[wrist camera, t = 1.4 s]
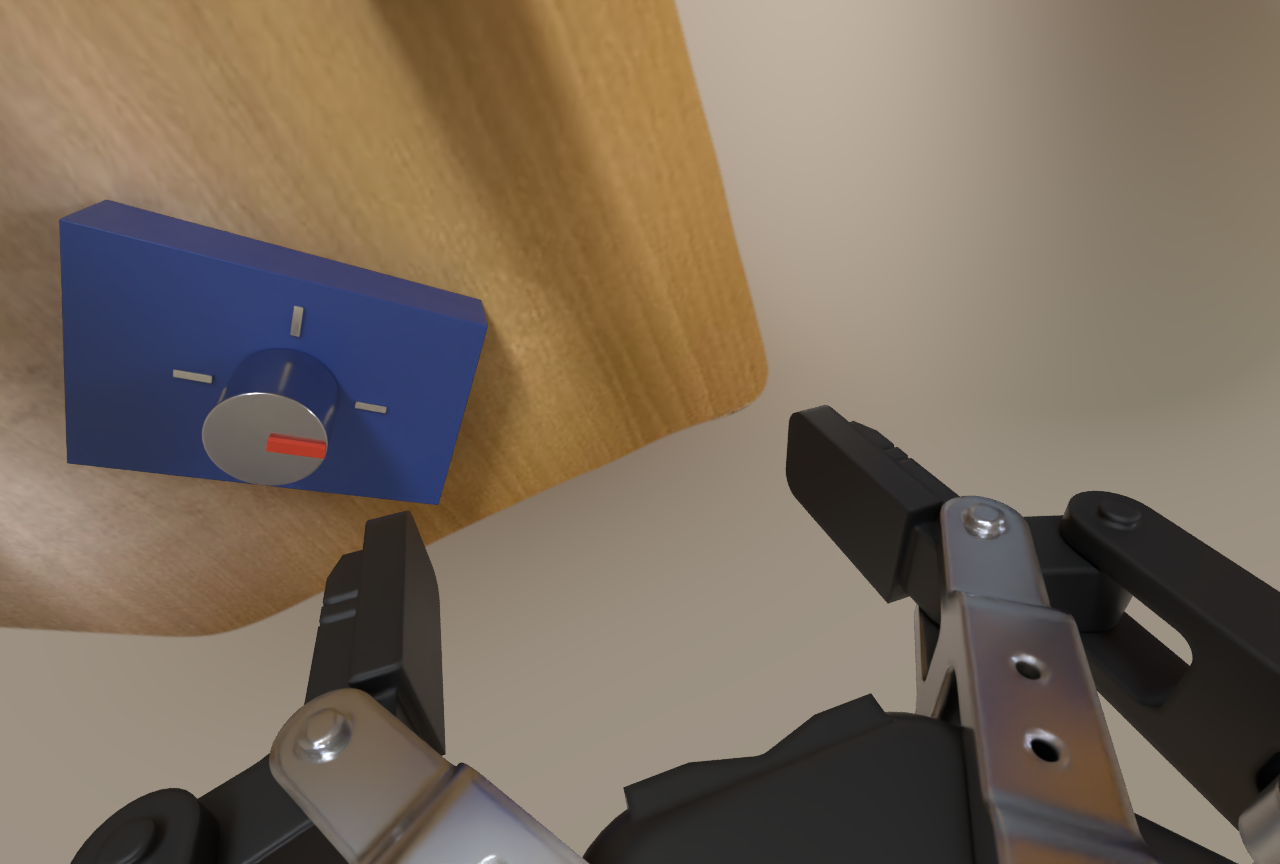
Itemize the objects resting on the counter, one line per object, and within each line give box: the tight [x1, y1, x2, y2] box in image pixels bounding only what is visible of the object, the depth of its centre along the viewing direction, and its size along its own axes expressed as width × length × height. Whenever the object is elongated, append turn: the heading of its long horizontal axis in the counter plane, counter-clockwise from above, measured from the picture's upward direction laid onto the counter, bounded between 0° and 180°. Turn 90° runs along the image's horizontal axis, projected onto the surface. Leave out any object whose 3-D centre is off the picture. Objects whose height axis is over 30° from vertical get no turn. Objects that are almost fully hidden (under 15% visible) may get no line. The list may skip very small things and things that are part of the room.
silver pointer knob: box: [202, 349, 340, 486], centre depth 25 cm, size 4×4×5 cm
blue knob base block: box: [59, 200, 488, 505], centre depth 29 cm, size 16×11×4 cm
